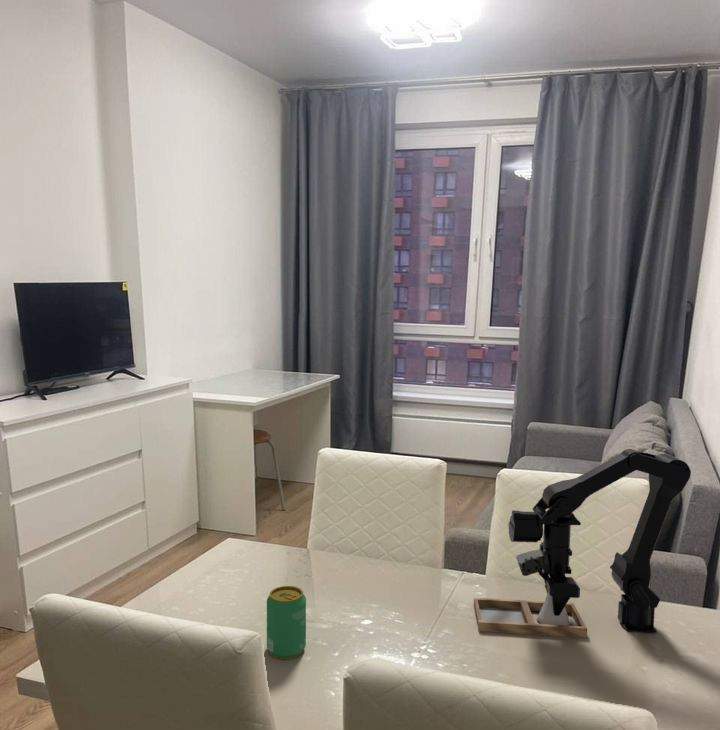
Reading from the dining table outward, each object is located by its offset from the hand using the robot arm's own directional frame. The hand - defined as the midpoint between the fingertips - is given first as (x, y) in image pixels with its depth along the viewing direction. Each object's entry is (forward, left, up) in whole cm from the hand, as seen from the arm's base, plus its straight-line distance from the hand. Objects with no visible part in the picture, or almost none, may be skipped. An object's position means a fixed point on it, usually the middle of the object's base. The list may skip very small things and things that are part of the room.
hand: (553, 609), depth 135 cm
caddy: (+6, 0, -3) cm, 7 cm away
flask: (0, 0, -3) cm, 3 cm away
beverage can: (+58, +18, -3) cm, 60 cm away
